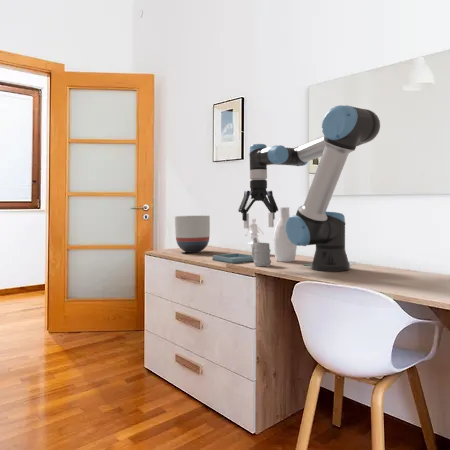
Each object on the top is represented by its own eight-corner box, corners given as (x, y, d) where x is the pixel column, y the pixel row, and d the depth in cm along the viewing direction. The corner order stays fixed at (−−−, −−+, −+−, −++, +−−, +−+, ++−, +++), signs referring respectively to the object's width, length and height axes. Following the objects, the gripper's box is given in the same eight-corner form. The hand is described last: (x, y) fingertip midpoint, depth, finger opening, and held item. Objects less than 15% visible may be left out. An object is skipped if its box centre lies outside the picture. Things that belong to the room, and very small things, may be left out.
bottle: (301, 261, 197) (300, 207, 196) (278, 262, 195) (277, 207, 193) (291, 258, 208) (290, 207, 207) (270, 260, 205) (269, 207, 204)
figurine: (251, 256, 223) (250, 218, 222) (240, 254, 230) (239, 218, 230) (270, 254, 230) (269, 217, 229) (259, 253, 238) (258, 217, 237)
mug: (259, 267, 181) (259, 239, 181) (245, 264, 192) (245, 237, 191) (274, 265, 185) (274, 238, 185) (259, 263, 195) (259, 237, 195)
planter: (214, 250, 257) (213, 215, 256) (204, 254, 237) (204, 216, 236) (182, 250, 262) (181, 215, 261) (170, 254, 242) (169, 216, 241)
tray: (258, 261, 202) (258, 256, 202) (232, 263, 194) (232, 258, 194) (237, 257, 217) (237, 253, 217) (212, 260, 209) (212, 255, 209)
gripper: (275, 180, 197) (275, 226, 198) (230, 179, 184) (230, 228, 185) (285, 179, 190) (286, 226, 191) (239, 178, 177) (240, 229, 178)
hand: (258, 227), depth 188 cm, fingers open, 13 cm apart
